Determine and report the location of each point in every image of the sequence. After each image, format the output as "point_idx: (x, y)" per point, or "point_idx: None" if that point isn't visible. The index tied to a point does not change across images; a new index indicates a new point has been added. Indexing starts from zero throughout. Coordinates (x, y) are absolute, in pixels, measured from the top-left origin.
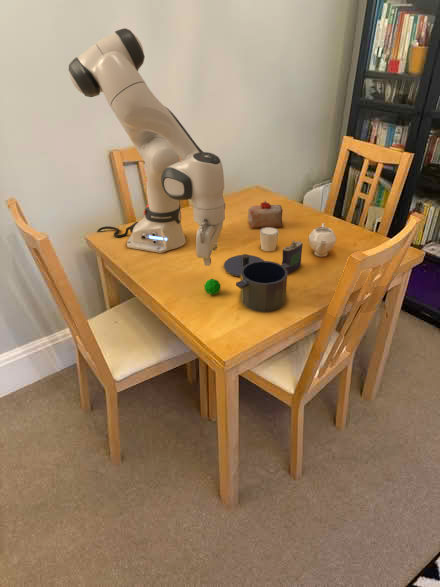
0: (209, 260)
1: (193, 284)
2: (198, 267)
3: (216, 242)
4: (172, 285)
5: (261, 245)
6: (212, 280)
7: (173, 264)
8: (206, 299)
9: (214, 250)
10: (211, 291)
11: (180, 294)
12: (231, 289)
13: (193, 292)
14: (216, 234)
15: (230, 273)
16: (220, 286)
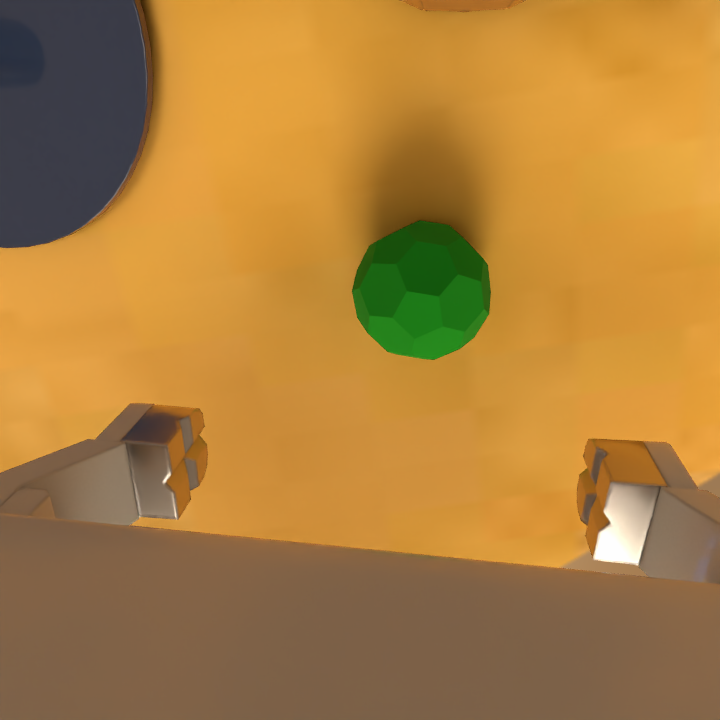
0: (713, 500)
1: (326, 420)
2: (103, 420)
3: (98, 463)
4: (359, 536)
5: None
6: (424, 311)
7: None
8: (515, 305)
9: (203, 427)
10: (488, 288)
11: (460, 479)
12: (349, 125)
13: (428, 406)
14: (274, 715)
15: (131, 171)
16: (412, 224)
